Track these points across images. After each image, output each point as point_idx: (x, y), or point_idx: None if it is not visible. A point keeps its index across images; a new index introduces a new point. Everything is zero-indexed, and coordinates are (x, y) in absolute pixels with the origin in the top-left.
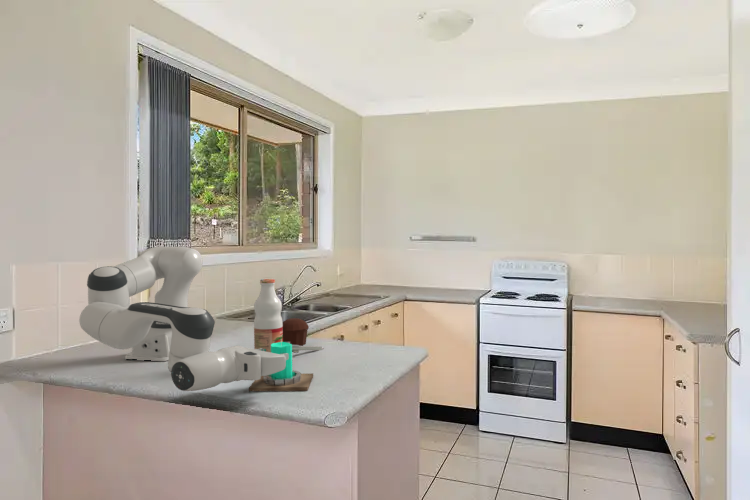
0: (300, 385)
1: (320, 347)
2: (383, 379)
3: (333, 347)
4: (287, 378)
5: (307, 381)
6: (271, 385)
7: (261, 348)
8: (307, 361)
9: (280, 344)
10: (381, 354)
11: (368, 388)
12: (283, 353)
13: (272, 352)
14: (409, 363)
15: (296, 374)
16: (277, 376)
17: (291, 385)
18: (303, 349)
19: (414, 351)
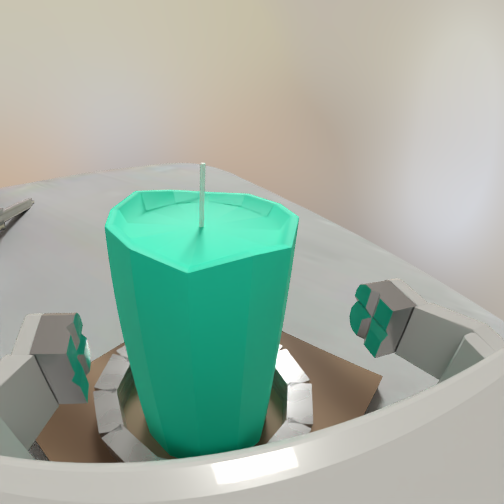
0: (347, 388)
1: (30, 200)
2: (345, 235)
3: (47, 194)
4: (296, 405)
5: (300, 347)
6: None
7: (30, 322)
8: (54, 245)
9: (146, 215)
10: (167, 182)
11: (406, 273)
12: (400, 296)
13: (197, 322)
14: (260, 187)
15: None
16: (245, 434)
17: (326, 417)
18: (10, 216)
19: (198, 167)
